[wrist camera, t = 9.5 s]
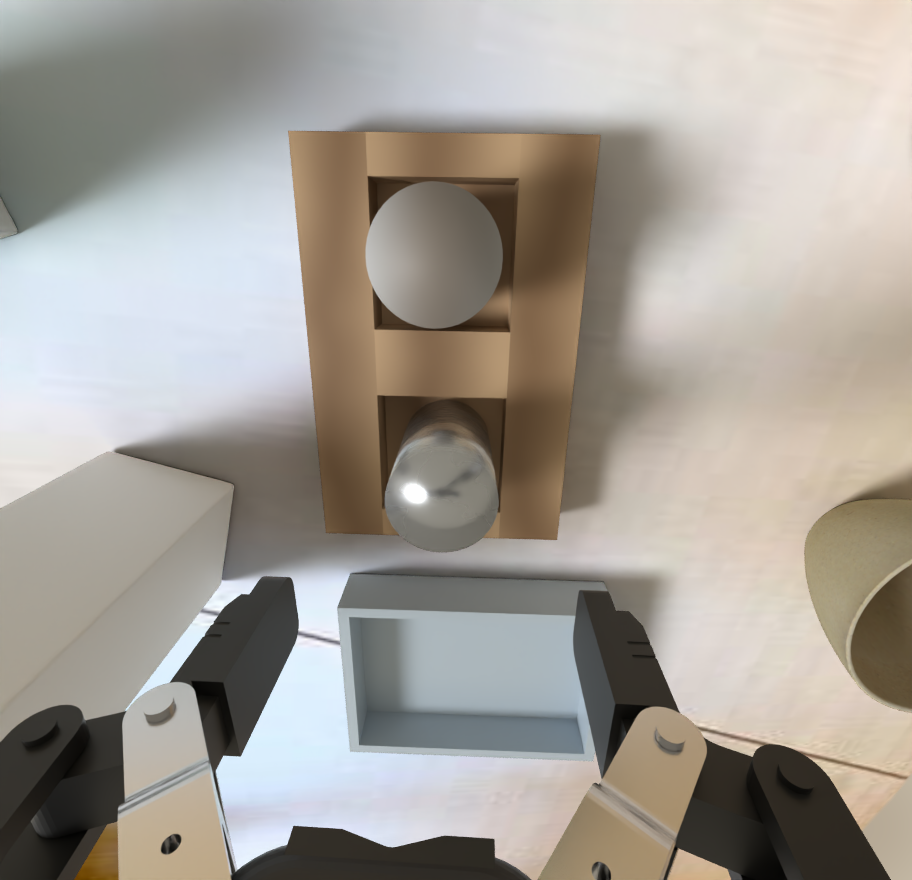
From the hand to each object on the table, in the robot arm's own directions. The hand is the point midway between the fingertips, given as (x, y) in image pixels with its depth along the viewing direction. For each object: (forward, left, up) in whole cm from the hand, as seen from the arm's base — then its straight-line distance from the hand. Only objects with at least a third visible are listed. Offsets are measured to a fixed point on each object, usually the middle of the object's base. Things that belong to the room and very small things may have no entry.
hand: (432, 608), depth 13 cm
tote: (-2, +14, -13) cm, 20 cm away
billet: (0, 0, -13) cm, 13 cm away
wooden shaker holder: (0, -5, -13) cm, 14 cm away
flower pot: (-23, +5, -13) cm, 27 cm away
